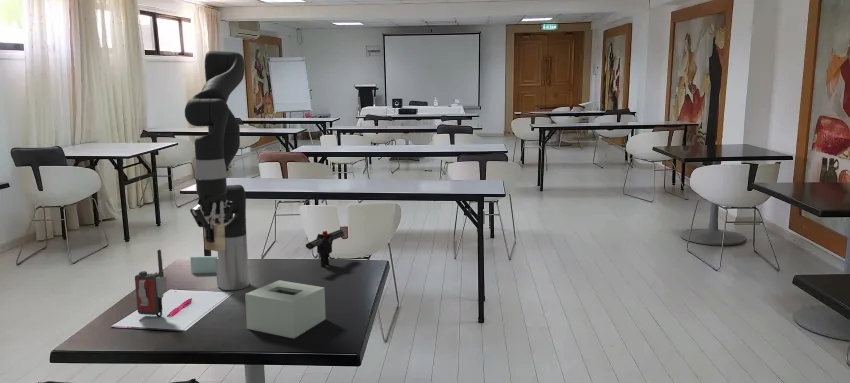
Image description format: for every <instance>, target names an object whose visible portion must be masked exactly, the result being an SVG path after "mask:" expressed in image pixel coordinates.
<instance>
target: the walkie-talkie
mask: <svg viewBox="0 0 850 383" xmlns="http://www.w3.org/2000/svg"><path fill="white" fill-rule="evenodd" d="M157 262H158V263H157V264H158V272H156V271H155V272H154V273H153V272H152V273H148V271H147V270H144V271H140V272H138V274H137V275H135V276H134V284H135V286H134V287H135V293H136V294H135V295H136V306H137V307H136V308H137V309H136V310H137V313H138V314H139V315H148V316H156V317H158V318H161V317H162V316H163V300H162V299H163V297H164V294H165V293H166V291H167V289H168V288H167V286H168V285H167V278H168V277H167V275H165V274H164V268H163V258H162V250H161V249H158V250H157Z"/></svg>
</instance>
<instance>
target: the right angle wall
mask: <svg viewBox="0 0 850 383" xmlns="http://www.w3.org/2000/svg"><path fill="white" fill-rule="evenodd" d="M216 258H218V255H213V256H212V255H209V256H207V255H205V256H203V255H202V256H201V255H200V256H198V255H197V256H190V273H191V274H208V273H209V274H210V273H216V274H217V272H216Z"/></svg>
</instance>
